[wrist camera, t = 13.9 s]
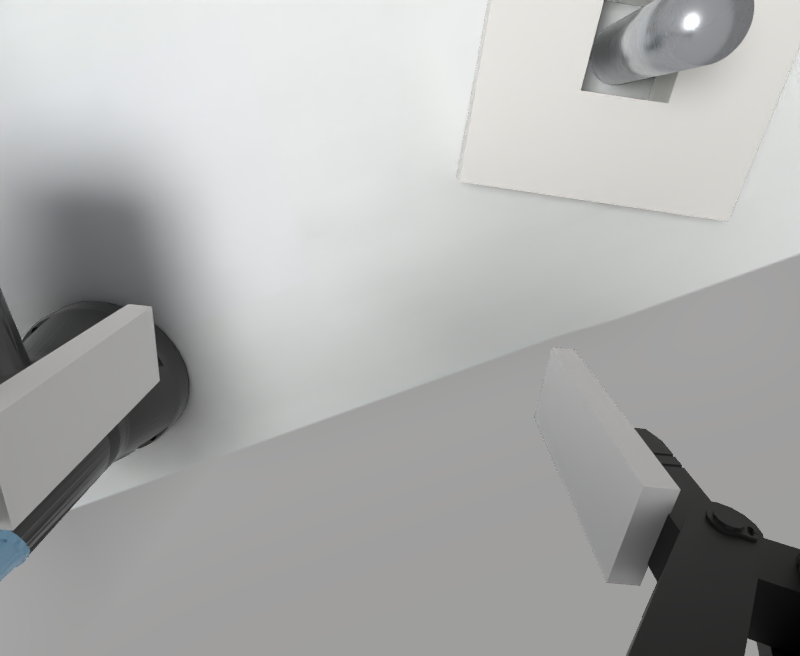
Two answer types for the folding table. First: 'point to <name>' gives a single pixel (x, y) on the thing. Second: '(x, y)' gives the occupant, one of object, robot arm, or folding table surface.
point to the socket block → (619, 112)
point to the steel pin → (670, 38)
